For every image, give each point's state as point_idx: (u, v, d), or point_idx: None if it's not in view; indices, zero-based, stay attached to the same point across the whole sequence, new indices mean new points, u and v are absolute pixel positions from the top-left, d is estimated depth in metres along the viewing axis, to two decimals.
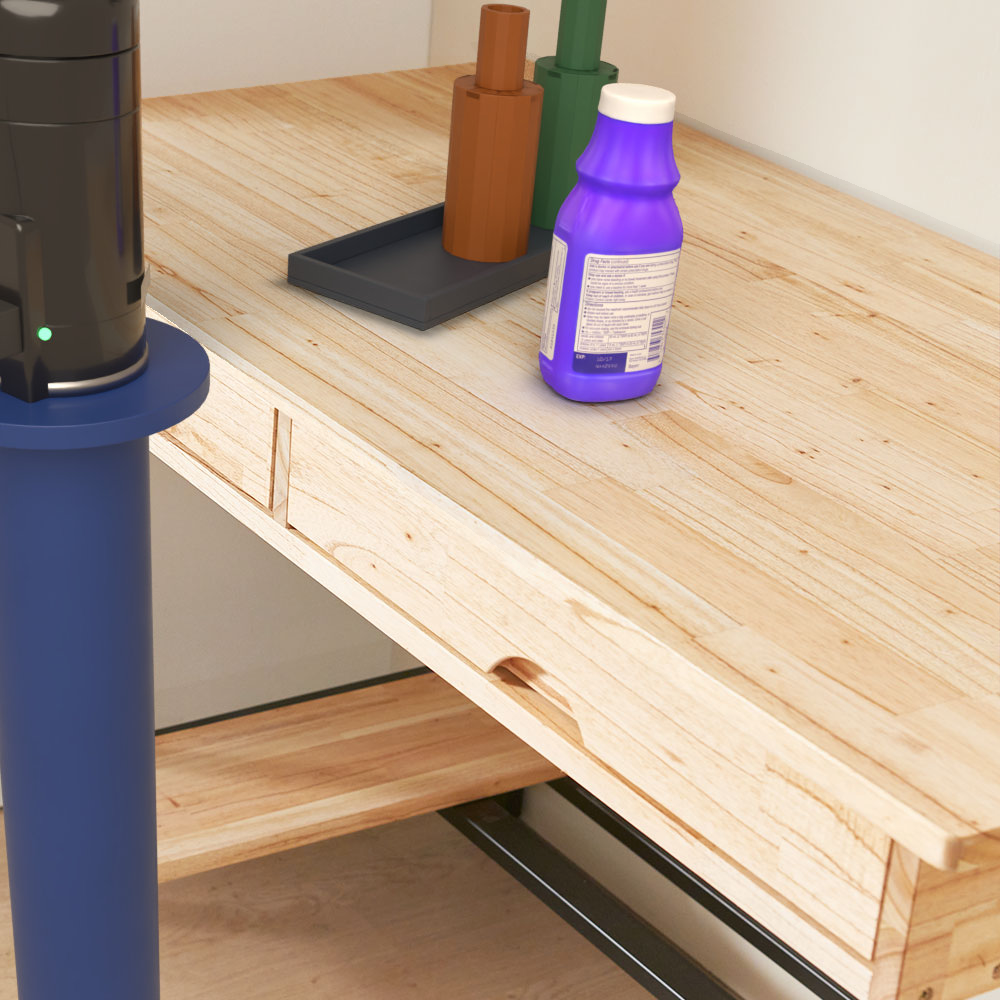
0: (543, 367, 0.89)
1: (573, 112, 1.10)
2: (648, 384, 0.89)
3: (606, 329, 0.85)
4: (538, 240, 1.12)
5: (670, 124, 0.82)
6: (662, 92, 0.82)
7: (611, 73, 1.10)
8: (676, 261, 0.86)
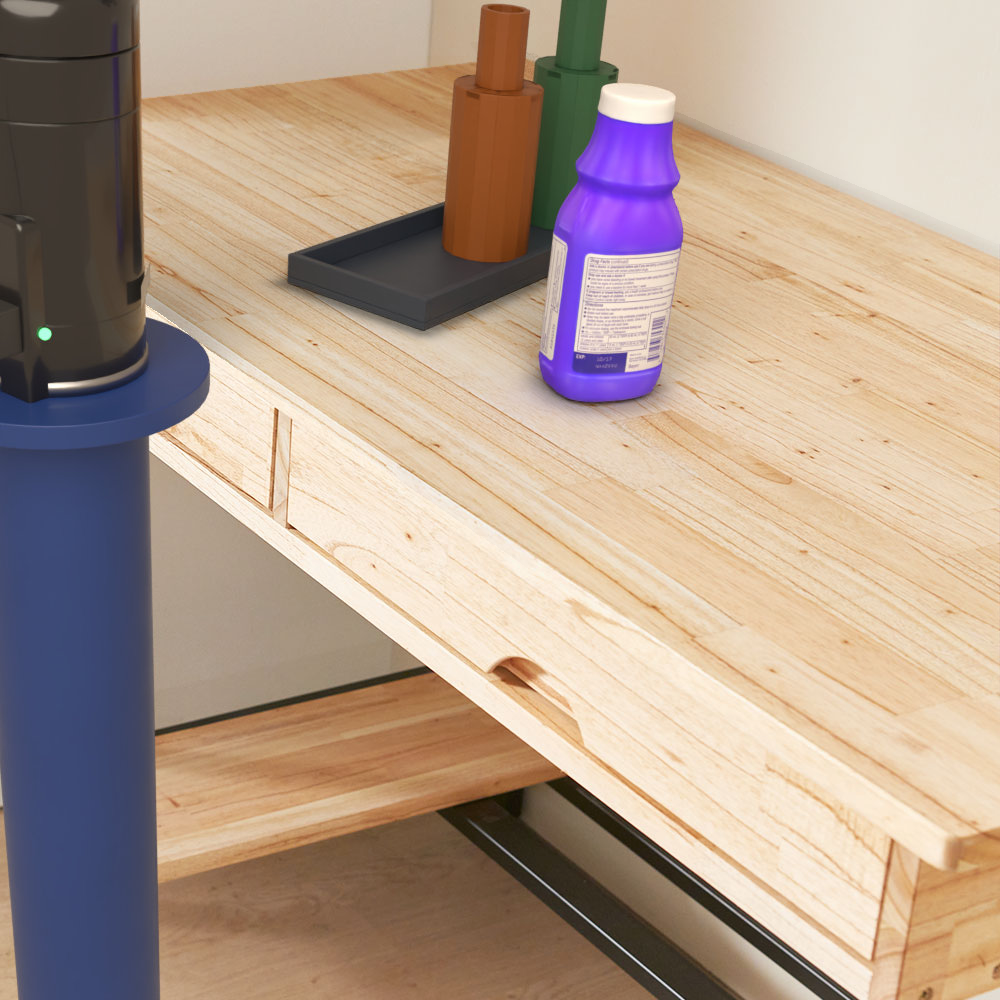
0: (543, 367, 0.89)
1: (573, 112, 1.10)
2: (648, 384, 0.89)
3: (606, 329, 0.85)
4: (538, 240, 1.12)
5: (670, 124, 0.82)
6: (662, 92, 0.82)
7: (611, 73, 1.10)
8: (676, 261, 0.86)
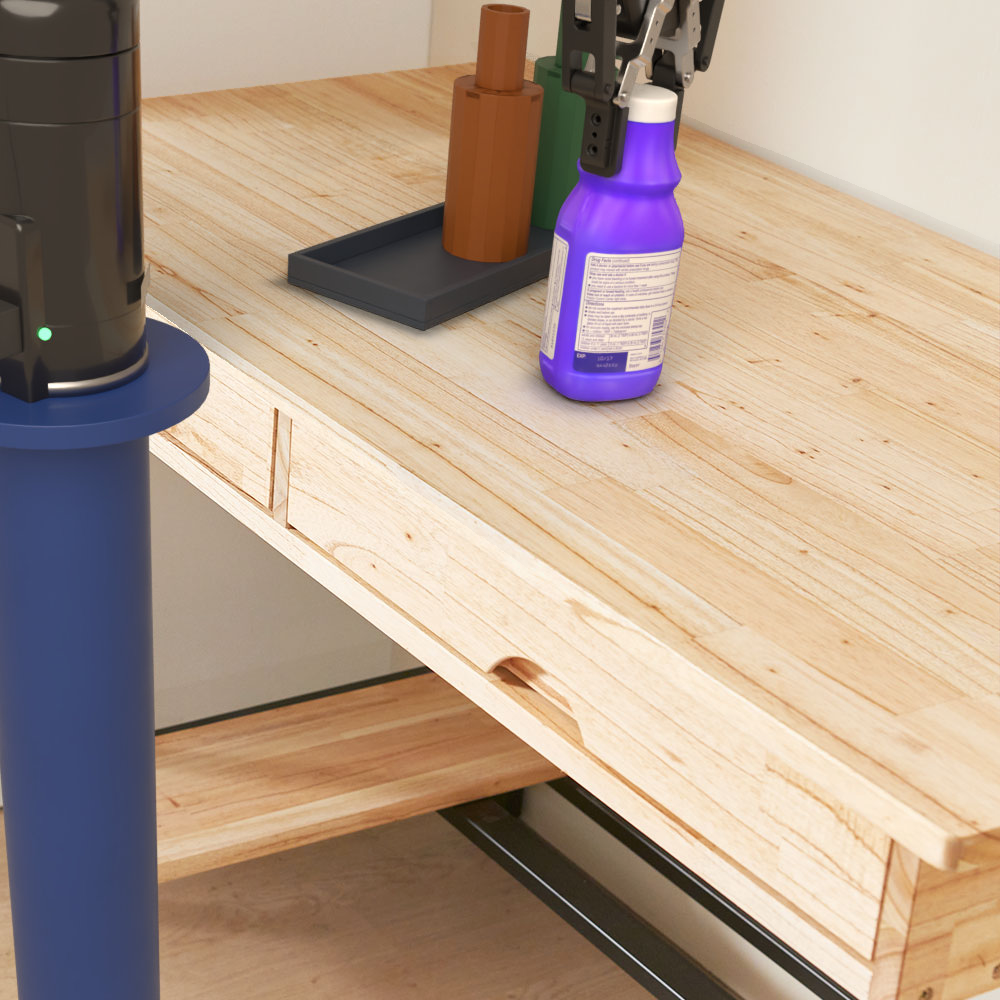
0: (543, 366, 0.88)
1: (573, 112, 1.10)
2: (648, 384, 0.89)
3: (607, 328, 0.85)
4: (538, 240, 1.12)
5: (671, 123, 0.82)
6: (664, 91, 0.83)
7: None
8: (677, 261, 0.86)
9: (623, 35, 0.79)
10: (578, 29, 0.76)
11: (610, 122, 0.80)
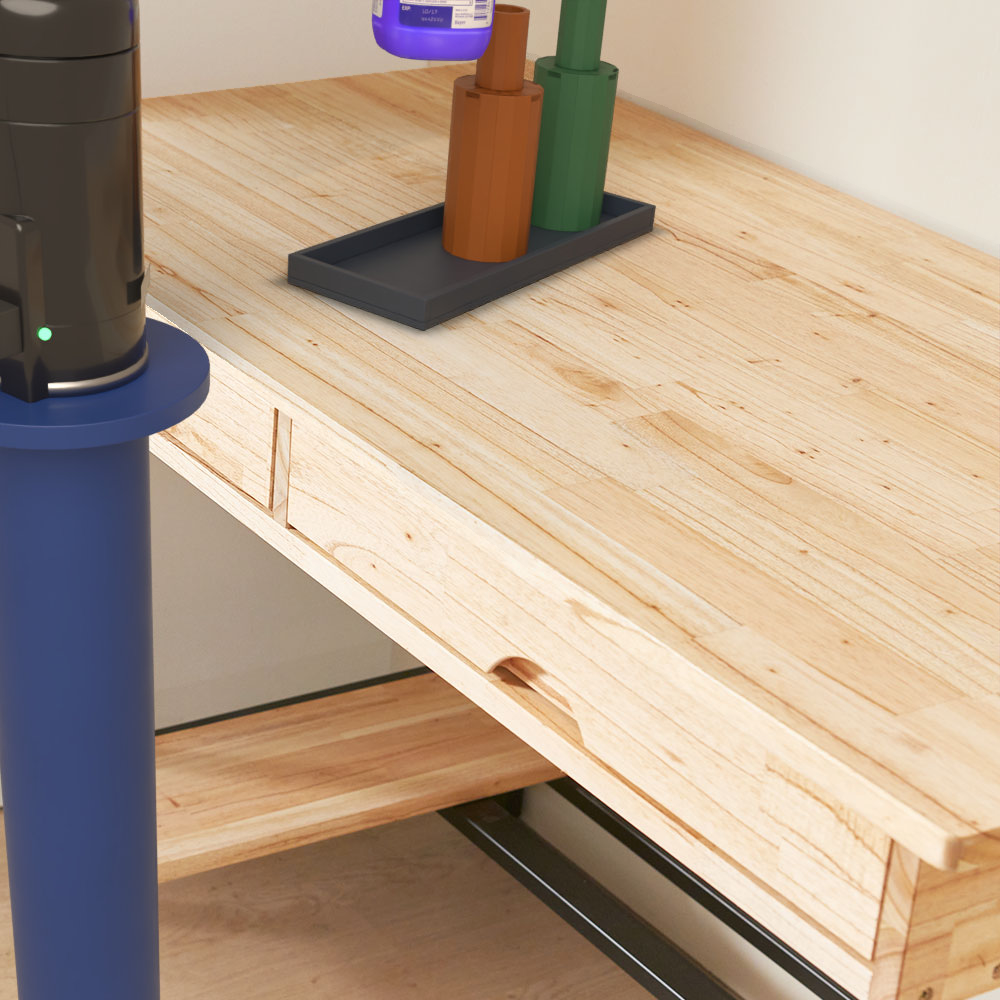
0: (374, 27, 0.91)
1: (573, 112, 1.10)
2: (476, 45, 0.91)
3: None
4: (538, 240, 1.12)
5: None
6: None
7: (611, 73, 1.10)
8: None
9: None
10: None
11: None
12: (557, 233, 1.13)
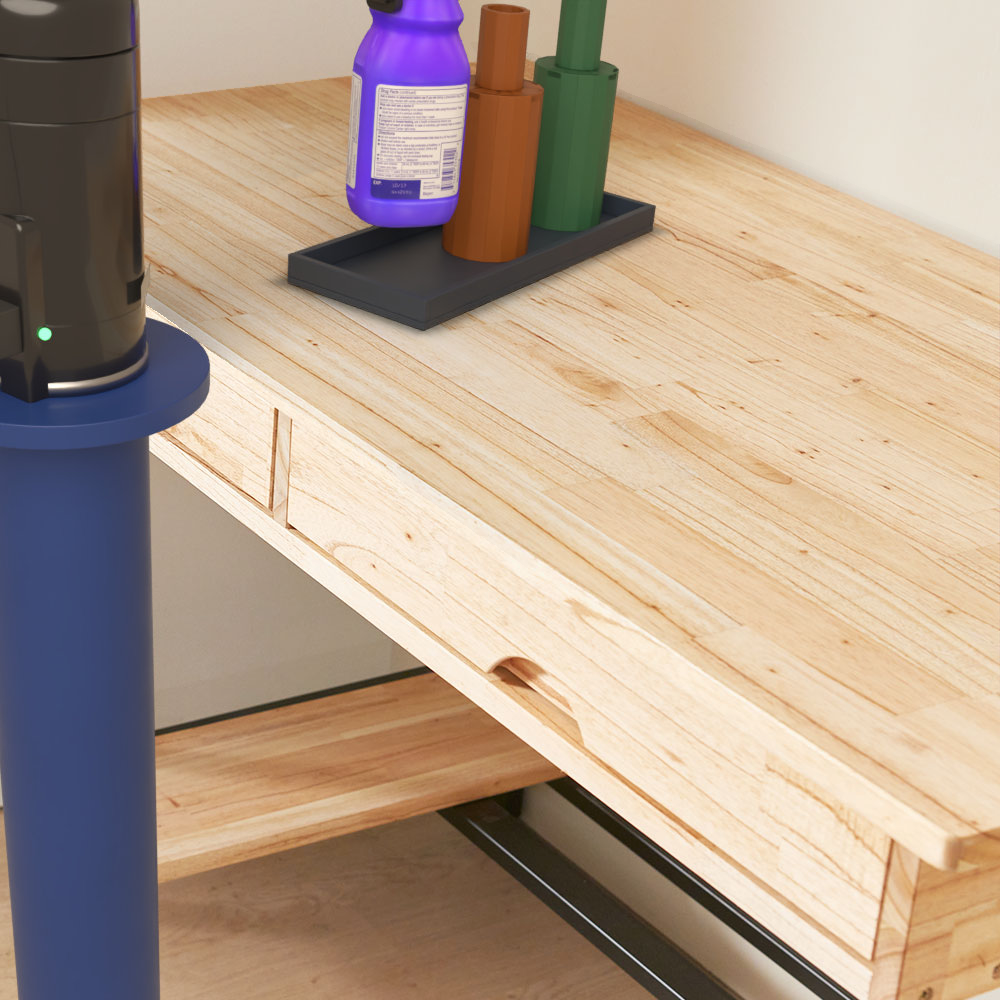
0: (348, 196, 0.98)
1: (573, 112, 1.10)
2: (444, 213, 0.98)
3: (399, 156, 0.95)
4: (538, 240, 1.12)
5: None
6: None
7: (611, 73, 1.10)
8: (463, 96, 0.95)
9: None
10: None
11: None
12: (557, 233, 1.13)
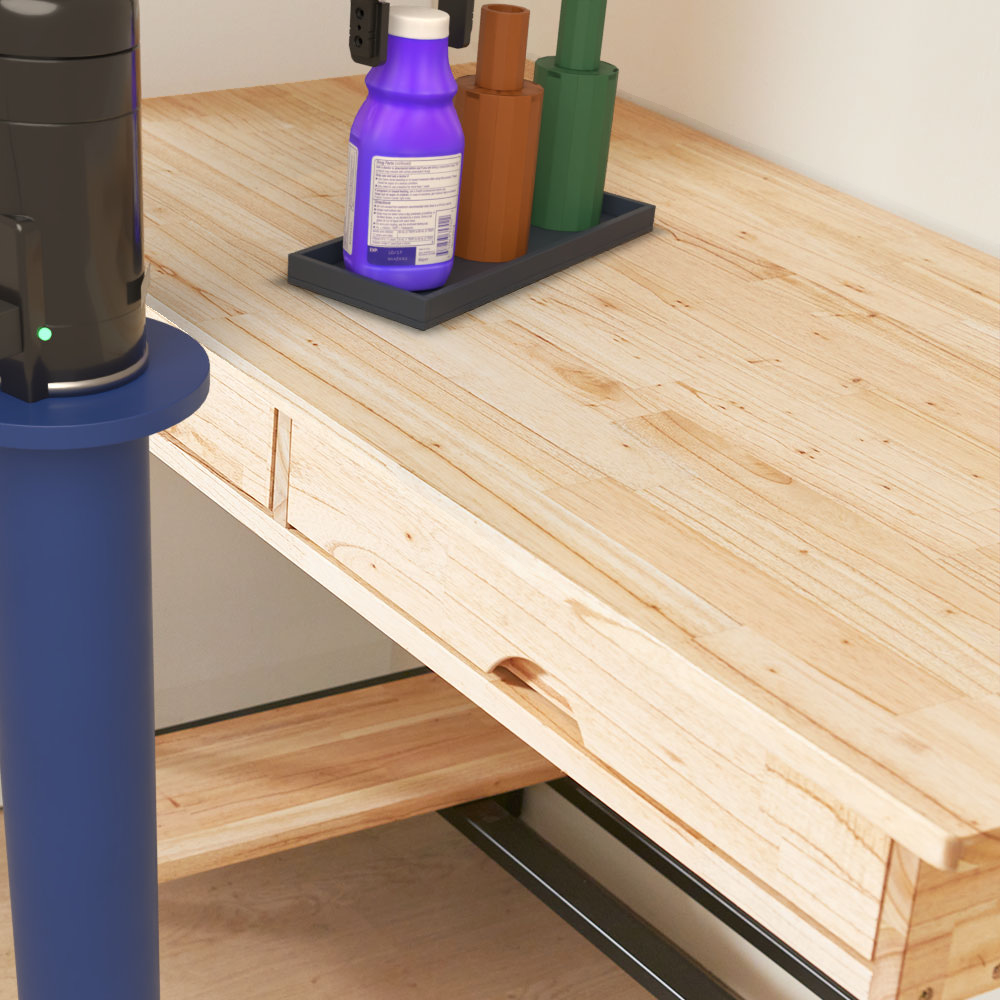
0: (345, 262, 1.00)
1: (573, 112, 1.10)
2: (439, 277, 1.00)
3: (395, 225, 0.97)
4: (538, 240, 1.12)
5: (444, 40, 0.93)
6: (437, 12, 0.94)
7: (611, 73, 1.10)
8: (457, 165, 0.97)
9: None
10: None
11: (372, 15, 0.89)
12: (557, 233, 1.13)
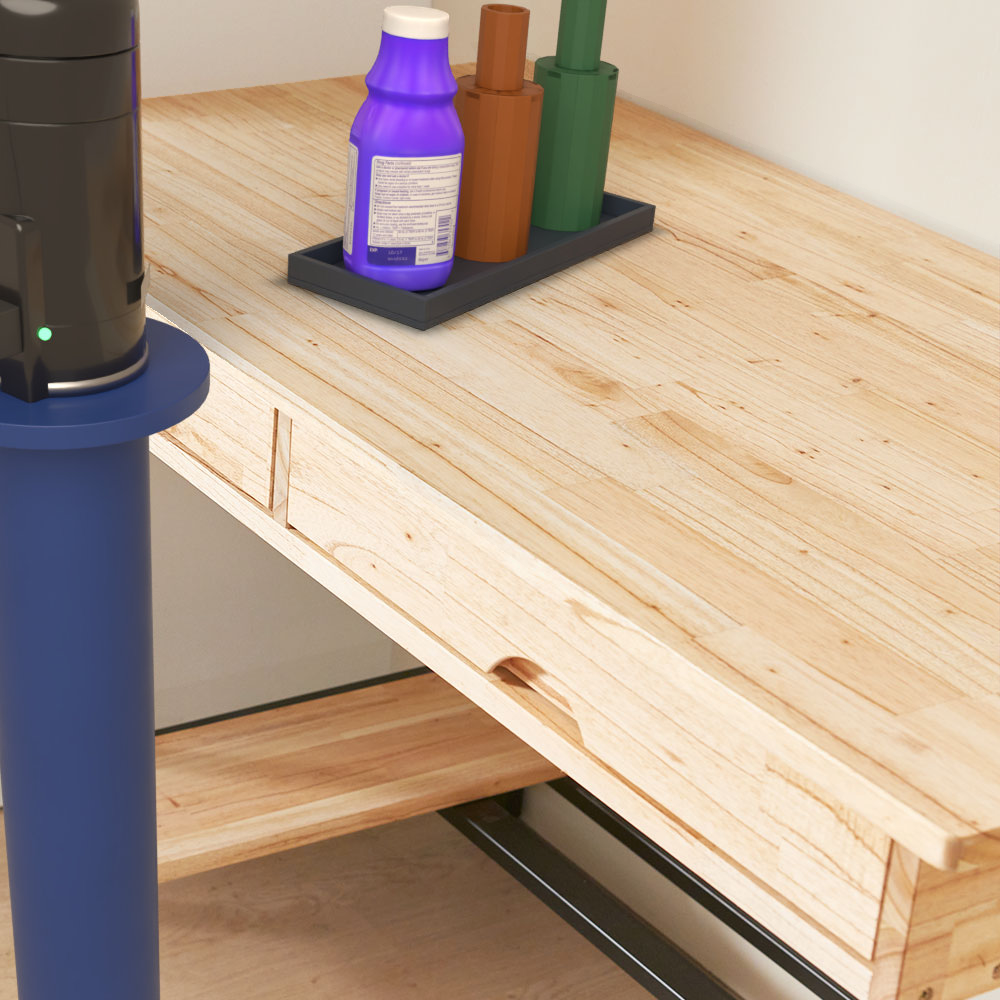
0: (345, 262, 1.00)
1: (573, 112, 1.10)
2: (439, 277, 1.00)
3: (395, 225, 0.97)
4: (538, 240, 1.12)
5: (444, 40, 0.93)
6: (437, 12, 0.94)
7: (611, 73, 1.10)
8: (458, 165, 0.97)
9: None
10: None
11: None
12: (557, 233, 1.13)
